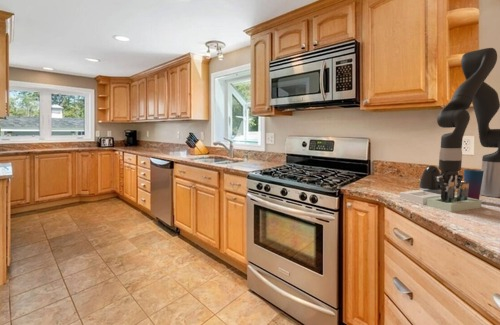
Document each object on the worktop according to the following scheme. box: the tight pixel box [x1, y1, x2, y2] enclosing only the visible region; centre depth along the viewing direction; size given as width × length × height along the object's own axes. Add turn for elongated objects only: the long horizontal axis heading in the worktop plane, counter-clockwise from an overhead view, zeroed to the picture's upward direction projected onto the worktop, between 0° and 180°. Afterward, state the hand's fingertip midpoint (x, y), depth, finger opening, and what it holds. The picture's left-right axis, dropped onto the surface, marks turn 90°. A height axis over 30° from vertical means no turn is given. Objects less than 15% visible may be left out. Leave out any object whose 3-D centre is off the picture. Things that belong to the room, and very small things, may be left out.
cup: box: [463, 168, 484, 200], centre depth 120 cm, size 7×7×15 cm
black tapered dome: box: [418, 165, 441, 191], centre depth 137 cm, size 10×10×15 cm
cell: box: [442, 181, 454, 203], centre depth 111 cm, size 4×4×11 cm
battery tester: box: [399, 189, 441, 205], centre depth 125 cm, size 18×12×4 cm, turn 108°
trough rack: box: [426, 194, 483, 213], centre depth 113 cm, size 18×10×4 cm, turn 108°
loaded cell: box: [456, 180, 469, 202], centre depth 114 cm, size 4×4×11 cm
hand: (447, 199), depth 112 cm, fingers closed on cell, 3 cm apart
